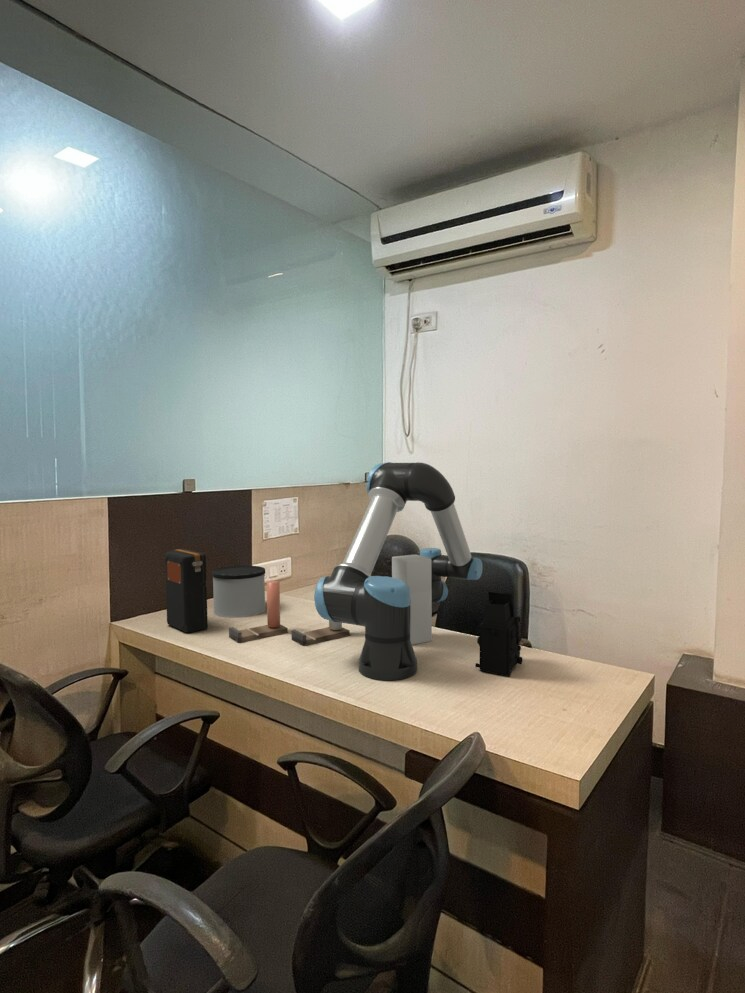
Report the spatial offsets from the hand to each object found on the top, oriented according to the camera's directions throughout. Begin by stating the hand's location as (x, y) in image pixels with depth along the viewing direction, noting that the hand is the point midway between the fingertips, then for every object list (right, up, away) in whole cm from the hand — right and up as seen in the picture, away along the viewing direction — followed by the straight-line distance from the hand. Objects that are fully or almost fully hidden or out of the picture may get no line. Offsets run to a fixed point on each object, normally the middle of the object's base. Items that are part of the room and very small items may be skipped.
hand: (352, 608), depth 175 cm
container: (-42, -6, +26) cm, 50 cm away
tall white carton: (+18, -8, -9) cm, 22 cm away
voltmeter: (-54, -8, +5) cm, 55 cm away
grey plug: (-5, -5, -4) cm, 8 cm away
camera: (+40, -9, -32) cm, 52 cm away
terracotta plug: (-25, -5, 0) cm, 26 cm away
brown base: (-29, -8, -3) cm, 30 cm away
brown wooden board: (-9, -8, -6) cm, 14 cm away
